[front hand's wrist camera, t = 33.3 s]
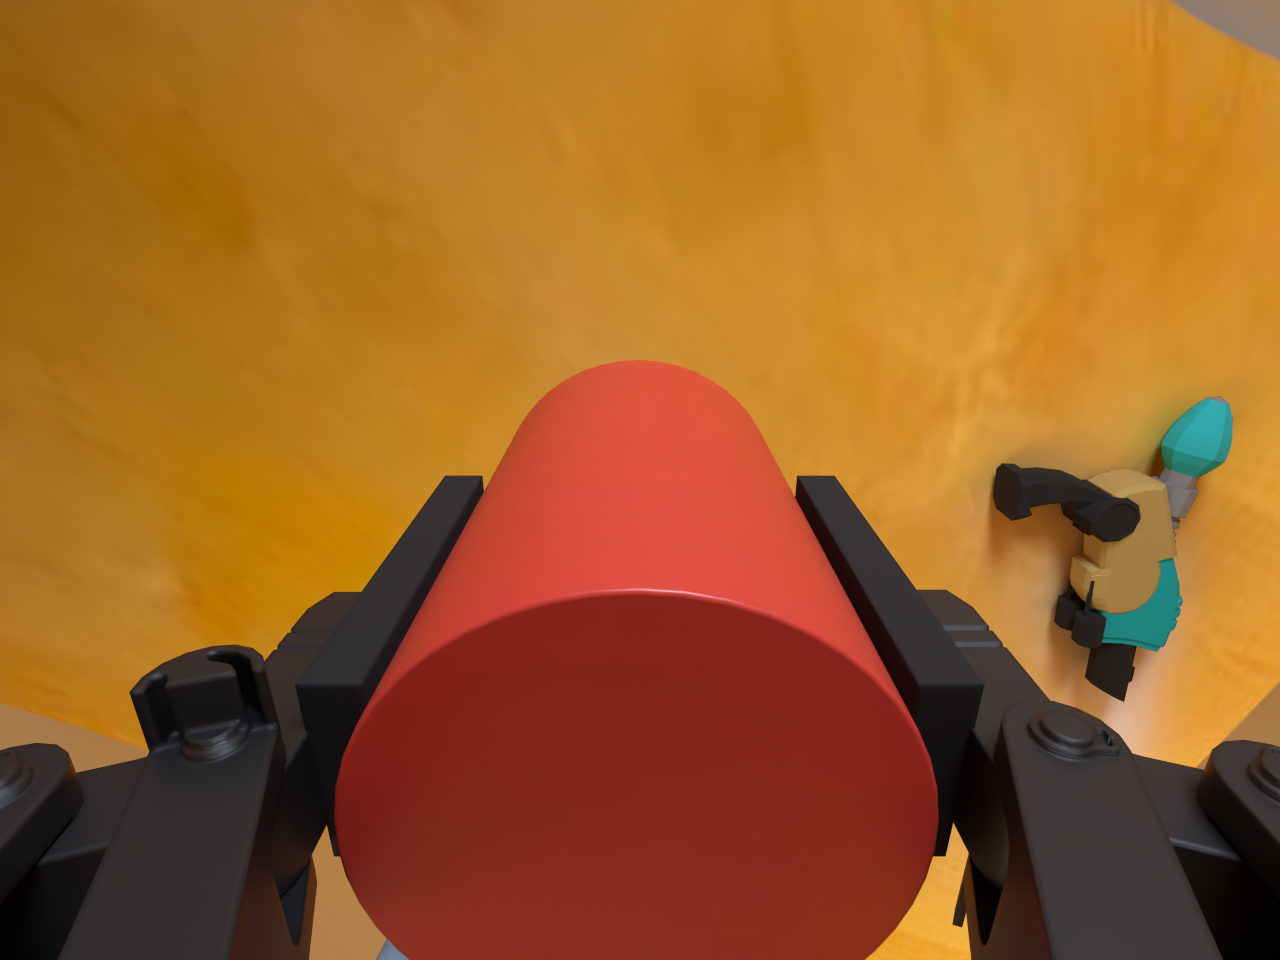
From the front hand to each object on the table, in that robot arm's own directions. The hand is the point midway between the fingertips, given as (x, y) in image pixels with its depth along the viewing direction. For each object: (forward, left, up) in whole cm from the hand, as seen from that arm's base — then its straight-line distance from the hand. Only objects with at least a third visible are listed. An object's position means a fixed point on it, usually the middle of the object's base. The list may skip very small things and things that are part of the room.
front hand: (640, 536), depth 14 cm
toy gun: (-33, -22, -36) cm, 54 cm away
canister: (0, 0, -2) cm, 2 cm away
